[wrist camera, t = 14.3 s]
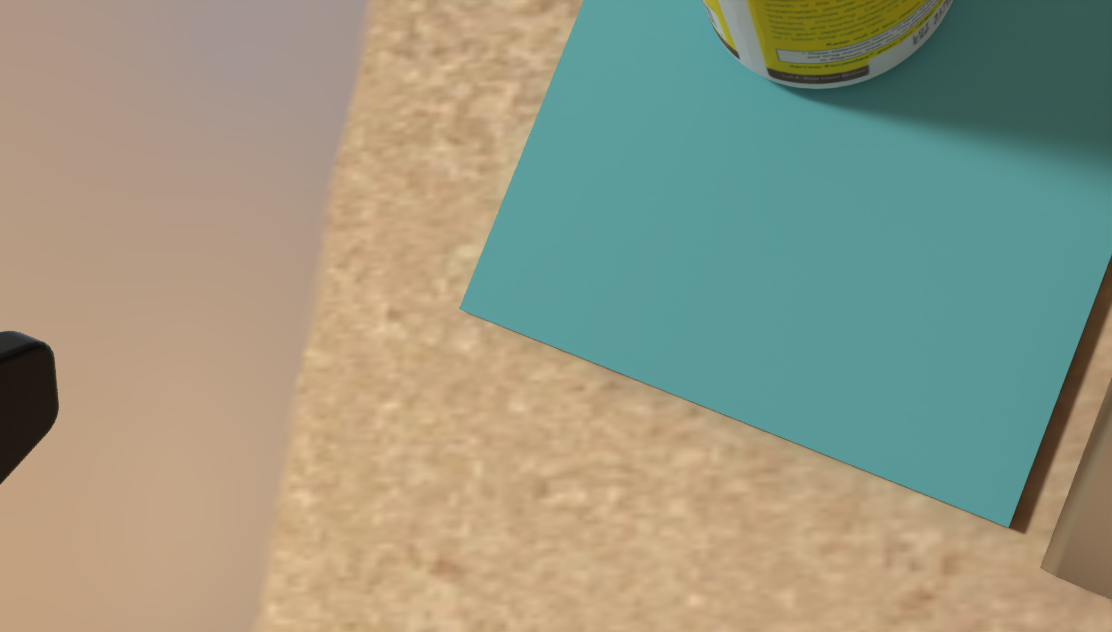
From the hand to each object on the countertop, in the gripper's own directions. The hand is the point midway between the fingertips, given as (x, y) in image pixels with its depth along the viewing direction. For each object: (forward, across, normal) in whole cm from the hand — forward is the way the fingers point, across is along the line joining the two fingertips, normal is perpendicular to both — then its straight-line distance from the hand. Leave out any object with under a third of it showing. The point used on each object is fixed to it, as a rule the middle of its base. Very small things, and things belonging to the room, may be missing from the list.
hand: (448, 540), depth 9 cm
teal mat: (+15, -2, 0) cm, 16 cm away
